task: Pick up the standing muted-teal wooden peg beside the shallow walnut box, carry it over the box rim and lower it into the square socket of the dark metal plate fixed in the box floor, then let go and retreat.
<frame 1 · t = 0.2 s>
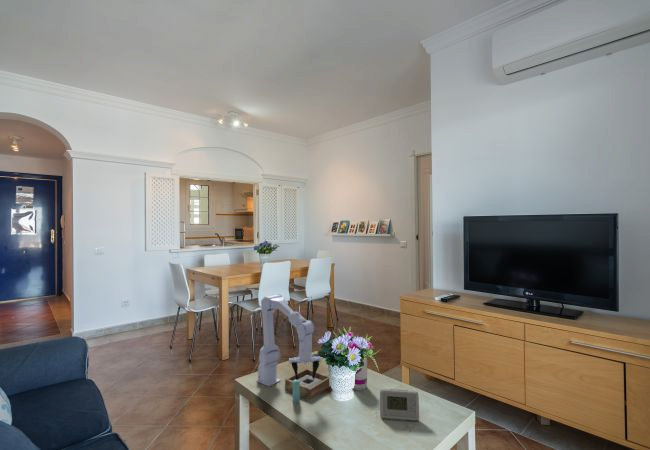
hand: (305, 378, 153), 10 cm above the table, fingers open, 7 cm apart
digital clock: (399, 417, 141), on the table
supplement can: (358, 387, 166), on the table
peg: (296, 400, 153), on the table
box: (308, 387, 165), on the table
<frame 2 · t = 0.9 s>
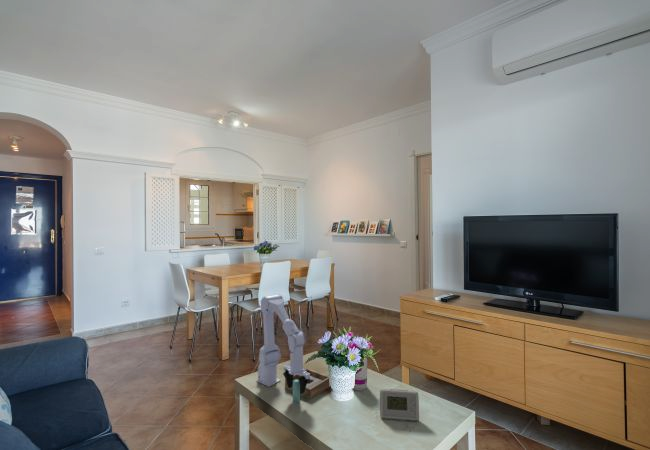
hand: (296, 390, 153), 5 cm above the table, fingers open, 7 cm apart
nothing on the table moved.
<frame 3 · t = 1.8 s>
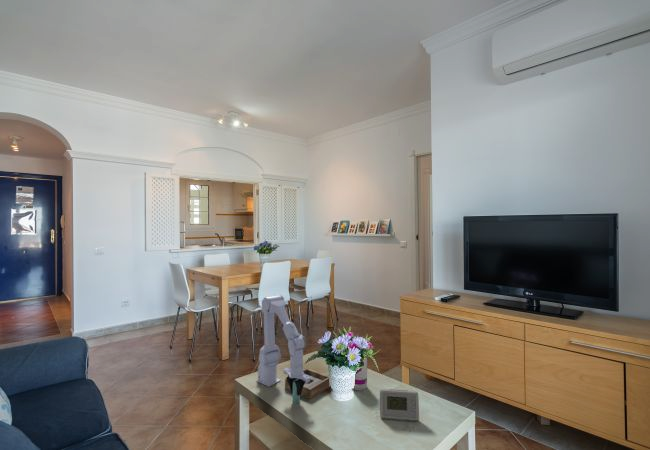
hand: (296, 393, 153), 3 cm above the table, fingers closed on peg, 3 cm apart
peg: (296, 400, 153), on the table, touching gripper
everything else where it was.
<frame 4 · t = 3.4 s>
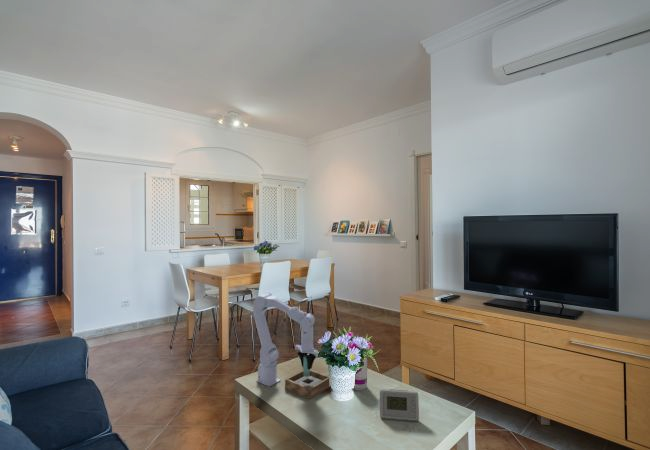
hand: (306, 367, 164), 10 cm above the table, fingers closed on peg, 3 cm apart
peg: (306, 375, 164), point 7 cm above the table, touching gripper
everything else where it was.
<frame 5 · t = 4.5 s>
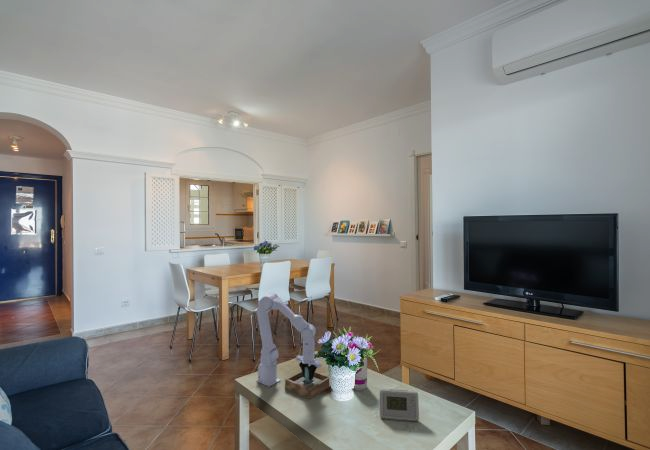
hand: (308, 378, 165), 4 cm above the table, fingers closed on peg, 3 cm apart
peg: (308, 385, 165), point 1 cm above the table, touching gripper
everything else where it was.
when the fingers open (4 cm above the table, at t = 5.0 s): peg stays where it is, resting on box.
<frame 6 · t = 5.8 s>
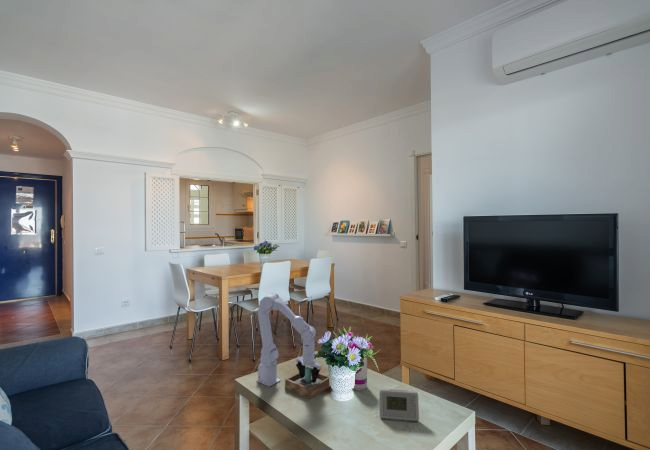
hand: (308, 379, 165), 4 cm above the table, fingers open, 7 cm apart
peg: (308, 386, 165), point 1 cm above the table, touching box
everything else where it was.
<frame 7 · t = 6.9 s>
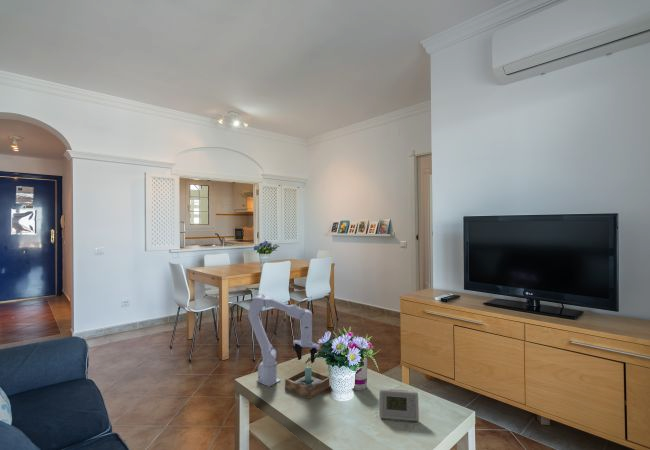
hand: (306, 360, 171), 10 cm above the table, fingers open, 7 cm apart
nothing on the table moved.
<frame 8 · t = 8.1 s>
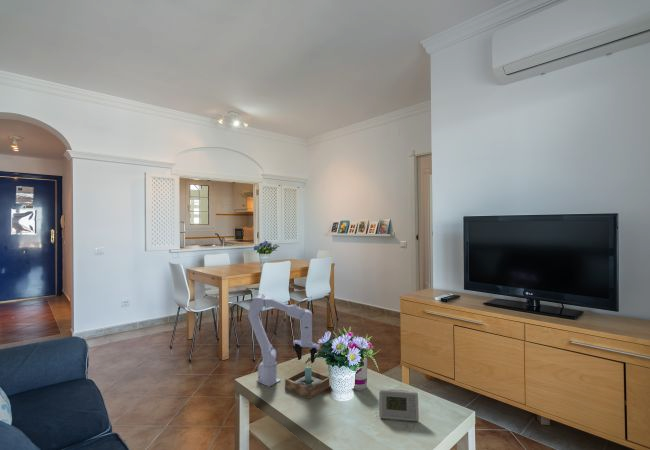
hand: (306, 360, 171), 10 cm above the table, fingers open, 7 cm apart
nothing on the table moved.
at the end: peg 0.1 cm off-centre on the box, point 0.6 cm above the box's base; peg tilted 0°; the gripper is holding nothing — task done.
